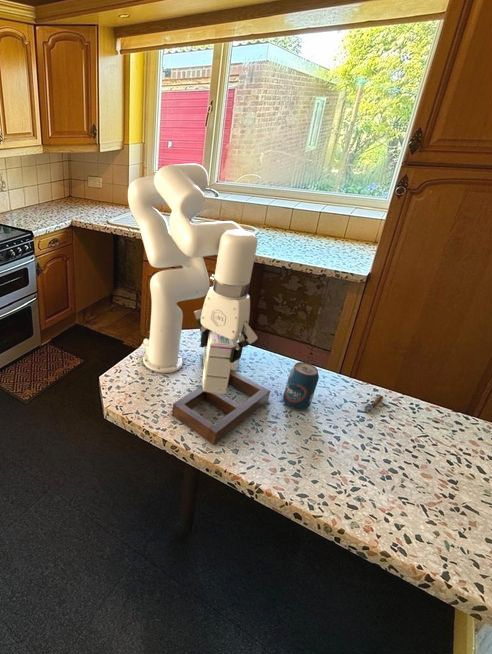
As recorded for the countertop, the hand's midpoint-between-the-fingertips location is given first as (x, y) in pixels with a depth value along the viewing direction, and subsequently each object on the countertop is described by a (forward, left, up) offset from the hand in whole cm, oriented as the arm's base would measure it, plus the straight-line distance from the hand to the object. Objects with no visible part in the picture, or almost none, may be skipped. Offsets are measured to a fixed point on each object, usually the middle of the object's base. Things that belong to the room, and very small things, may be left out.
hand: (219, 352), depth 96 cm
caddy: (0, +6, -21) cm, 22 cm away
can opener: (+26, +40, -21) cm, 52 cm away
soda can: (+12, +24, -21) cm, 34 cm away
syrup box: (0, 0, -11) cm, 11 cm away
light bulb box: (-13, +24, -21) cm, 34 cm away
